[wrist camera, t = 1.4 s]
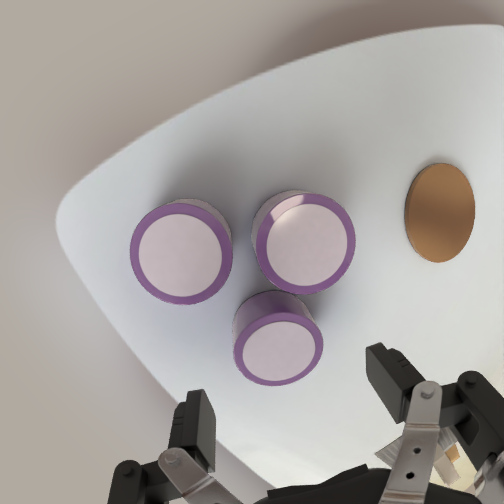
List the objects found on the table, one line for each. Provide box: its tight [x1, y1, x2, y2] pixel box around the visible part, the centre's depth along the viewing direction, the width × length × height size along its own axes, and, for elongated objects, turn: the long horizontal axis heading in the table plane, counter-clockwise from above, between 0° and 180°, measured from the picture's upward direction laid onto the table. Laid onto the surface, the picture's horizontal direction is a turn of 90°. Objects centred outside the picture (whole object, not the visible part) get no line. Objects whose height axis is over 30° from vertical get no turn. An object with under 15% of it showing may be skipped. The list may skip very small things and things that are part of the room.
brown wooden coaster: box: [405, 163, 475, 263], centre depth 17 cm, size 7×7×1 cm
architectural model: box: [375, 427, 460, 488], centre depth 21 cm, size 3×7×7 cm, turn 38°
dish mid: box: [251, 190, 356, 294], centre depth 15 cm, size 5×5×3 cm
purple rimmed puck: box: [130, 198, 233, 305], centre depth 15 cm, size 5×5×3 cm
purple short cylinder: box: [232, 291, 323, 386], centre depth 16 cm, size 5×5×3 cm
